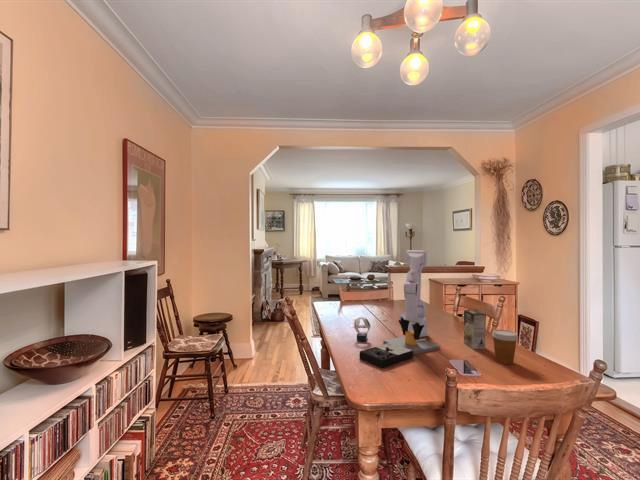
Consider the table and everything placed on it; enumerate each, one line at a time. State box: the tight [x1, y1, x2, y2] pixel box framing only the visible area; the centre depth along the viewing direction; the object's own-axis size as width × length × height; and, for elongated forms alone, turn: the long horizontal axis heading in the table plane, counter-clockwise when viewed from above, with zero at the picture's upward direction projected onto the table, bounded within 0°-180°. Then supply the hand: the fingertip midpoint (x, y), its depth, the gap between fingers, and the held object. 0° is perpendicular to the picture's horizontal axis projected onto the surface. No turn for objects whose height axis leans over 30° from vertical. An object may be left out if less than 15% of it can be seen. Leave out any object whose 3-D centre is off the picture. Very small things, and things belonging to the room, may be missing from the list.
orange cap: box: [404, 331, 416, 345], centre depth 157 cm, size 5×5×5 cm
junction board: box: [383, 336, 441, 356], centre depth 157 cm, size 18×18×2 cm
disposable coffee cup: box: [491, 329, 519, 365], centre depth 138 cm, size 10×10×12 cm
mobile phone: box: [448, 359, 482, 377], centre depth 132 cm, size 8×1×15 cm
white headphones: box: [350, 318, 366, 329], centre depth 191 cm, size 9×8×4 cm
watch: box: [353, 316, 371, 343], centre depth 166 cm, size 6×8×11 cm
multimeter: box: [359, 343, 414, 370], centre depth 141 cm, size 13×19×5 cm
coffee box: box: [463, 309, 487, 350], centre depth 157 cm, size 9×6×16 cm
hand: (411, 337), depth 157 cm, fingers open, 7 cm apart
